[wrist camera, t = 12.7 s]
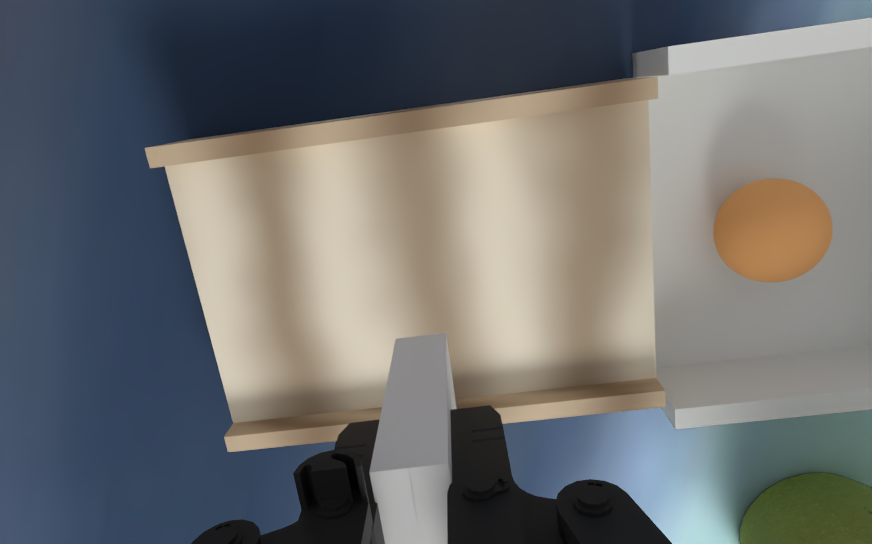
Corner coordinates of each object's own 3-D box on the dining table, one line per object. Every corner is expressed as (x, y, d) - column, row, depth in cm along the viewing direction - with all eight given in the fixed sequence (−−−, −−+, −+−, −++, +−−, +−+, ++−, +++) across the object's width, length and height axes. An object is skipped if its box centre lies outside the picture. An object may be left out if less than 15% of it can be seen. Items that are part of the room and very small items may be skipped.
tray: (644, 381, 30) (675, 429, 26) (632, 53, 26) (668, 46, 22) (907, 353, 30) (984, 398, 25) (943, 9, 25) (1046, -8, 21)
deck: (256, 405, 31) (228, 452, 27) (189, 139, 27) (144, 148, 23) (637, 364, 30) (665, 406, 26) (626, 78, 26) (657, 76, 22)
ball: (842, 296, 23) (817, 261, 27) (848, 185, 22) (820, 165, 26) (717, 298, 25) (710, 265, 29) (716, 195, 23) (709, 174, 27)
